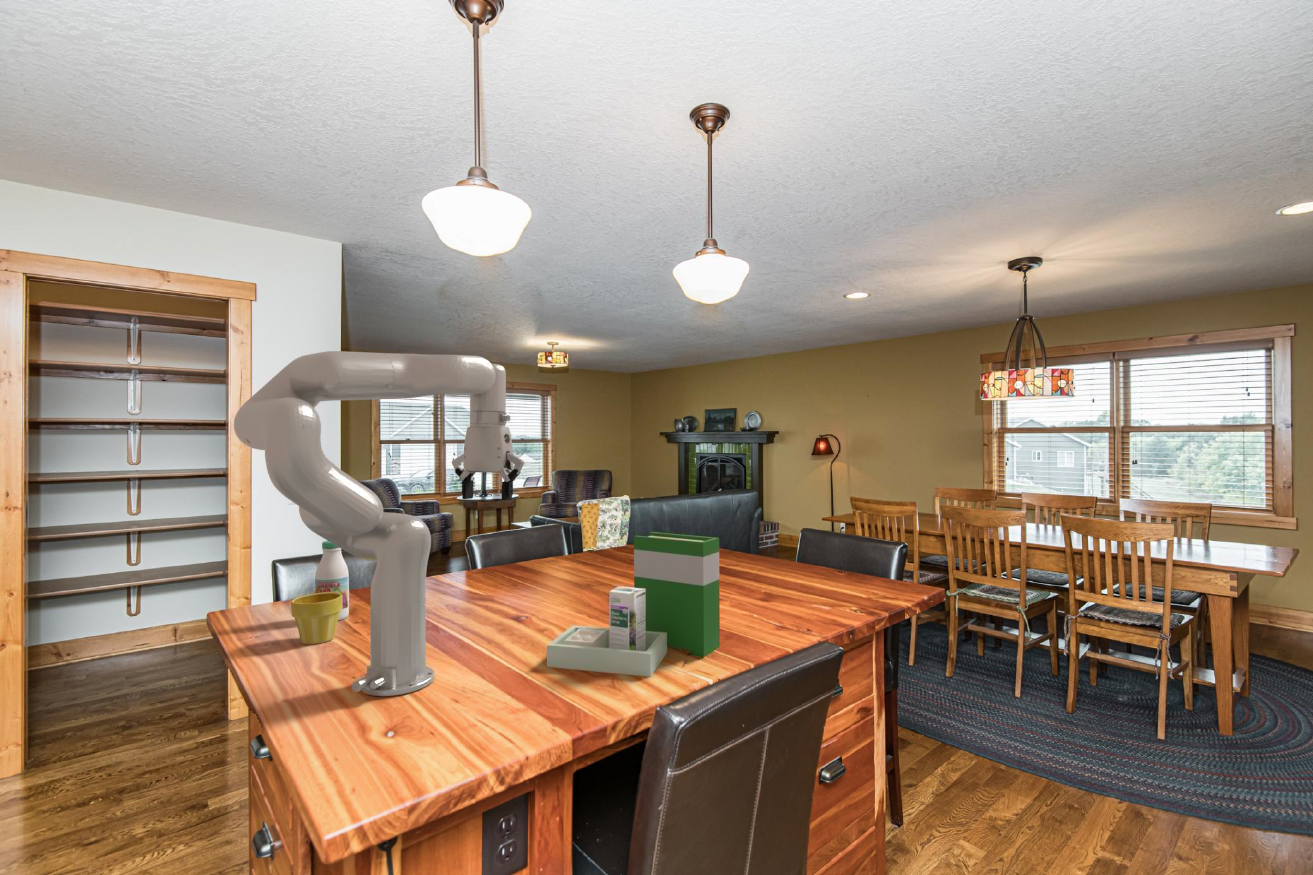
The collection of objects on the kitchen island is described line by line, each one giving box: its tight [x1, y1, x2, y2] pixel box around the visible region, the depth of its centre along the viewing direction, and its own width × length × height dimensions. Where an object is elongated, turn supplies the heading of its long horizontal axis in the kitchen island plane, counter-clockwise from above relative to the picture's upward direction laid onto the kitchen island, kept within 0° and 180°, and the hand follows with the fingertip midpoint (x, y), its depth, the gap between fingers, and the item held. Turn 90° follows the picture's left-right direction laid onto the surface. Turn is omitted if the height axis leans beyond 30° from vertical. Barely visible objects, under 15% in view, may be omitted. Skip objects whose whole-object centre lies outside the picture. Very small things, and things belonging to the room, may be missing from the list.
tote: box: [546, 625, 668, 678], centre depth 121 cm, size 13×21×5 cm, turn 76°
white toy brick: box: [564, 628, 606, 648], centre depth 122 cm, size 8×6×5 cm
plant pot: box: [290, 592, 343, 645], centre depth 136 cm, size 10×10×10 cm
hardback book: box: [633, 531, 721, 659], centre depth 132 cm, size 18×7×24 cm, turn 57°
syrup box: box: [608, 586, 646, 651], centre depth 120 cm, size 6×6×14 cm
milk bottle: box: [314, 540, 350, 621], centre depth 153 cm, size 8×8×20 cm
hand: (487, 499), depth 129 cm, fingers open, 9 cm apart
